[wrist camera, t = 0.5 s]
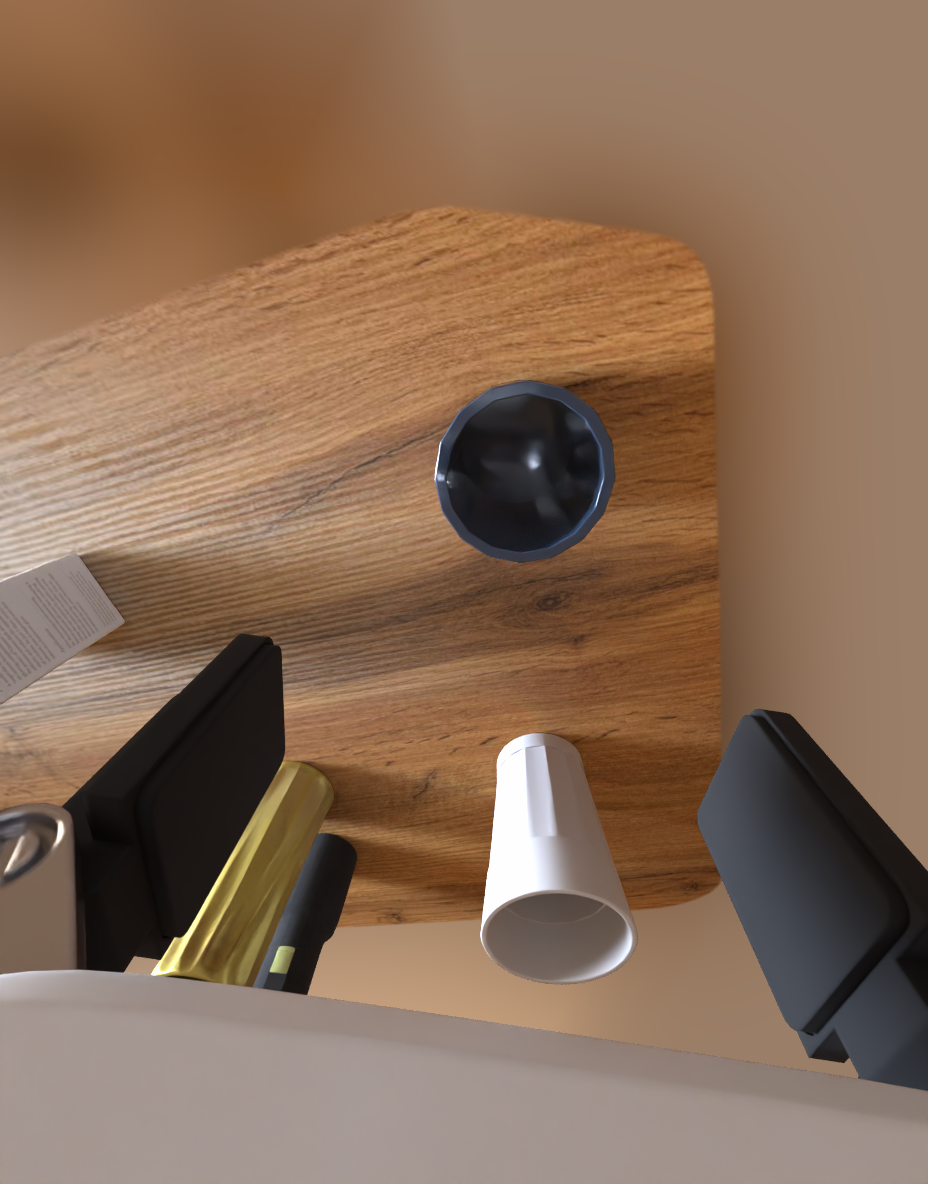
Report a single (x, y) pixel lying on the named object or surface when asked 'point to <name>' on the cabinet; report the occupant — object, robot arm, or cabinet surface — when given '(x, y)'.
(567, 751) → the cup
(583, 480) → the tumbler
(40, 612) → the small box
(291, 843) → the vase
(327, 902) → the flashlight
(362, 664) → the cabinet surface
